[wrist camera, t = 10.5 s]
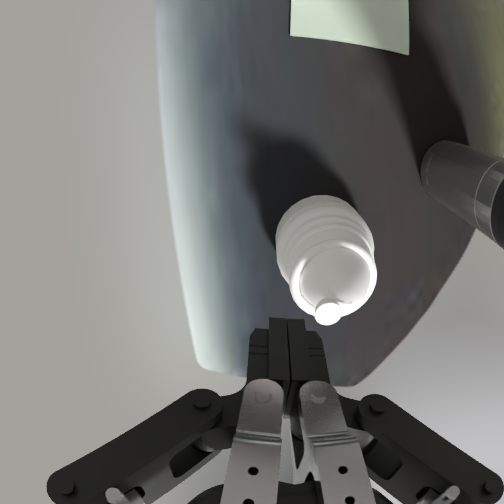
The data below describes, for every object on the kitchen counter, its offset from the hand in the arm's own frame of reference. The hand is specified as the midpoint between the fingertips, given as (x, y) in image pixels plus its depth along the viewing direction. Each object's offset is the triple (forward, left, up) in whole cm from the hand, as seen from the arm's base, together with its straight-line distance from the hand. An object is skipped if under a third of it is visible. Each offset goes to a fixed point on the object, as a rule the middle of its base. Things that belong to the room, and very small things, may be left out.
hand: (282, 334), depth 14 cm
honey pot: (-7, +8, -32) cm, 33 cm away
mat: (-9, -26, -31) cm, 41 cm away
